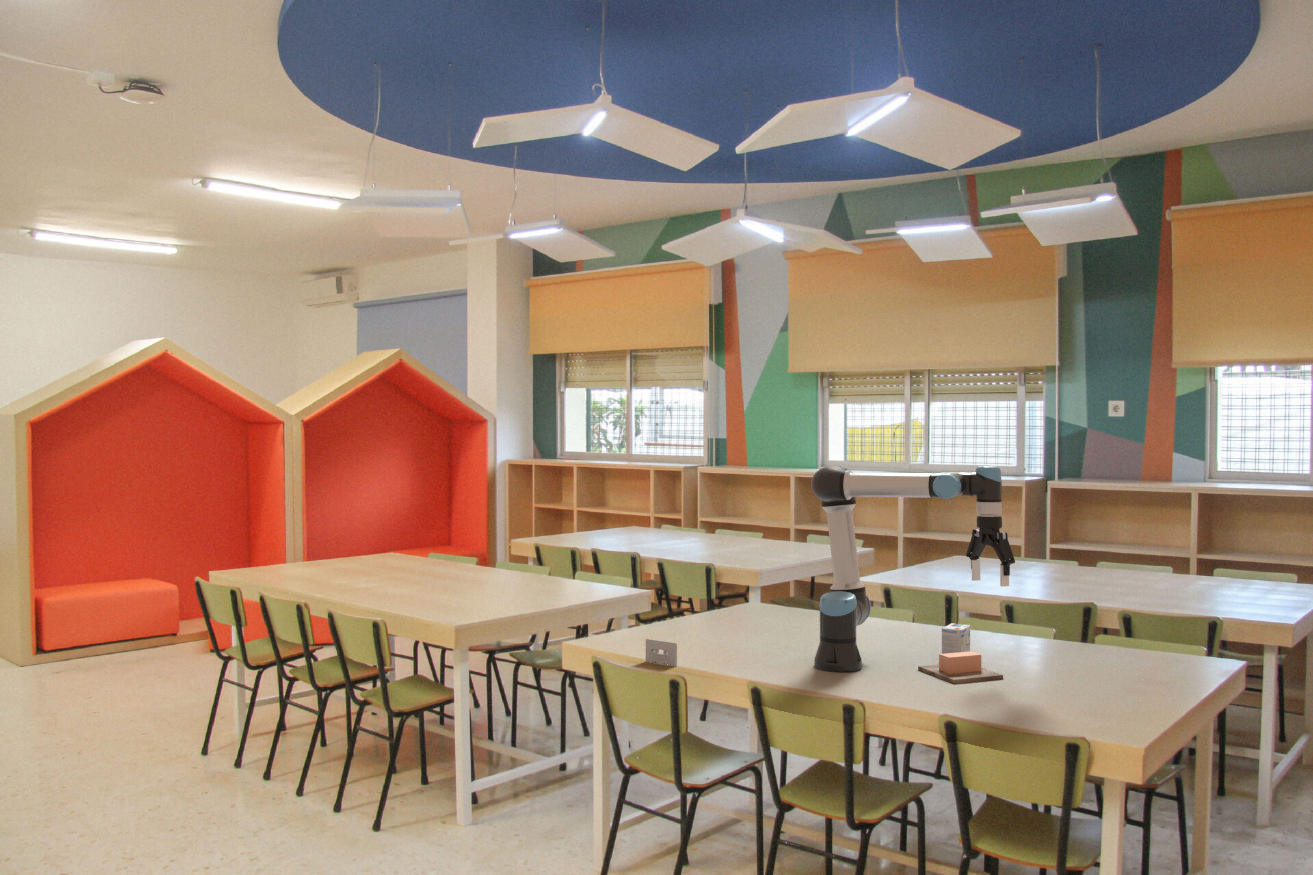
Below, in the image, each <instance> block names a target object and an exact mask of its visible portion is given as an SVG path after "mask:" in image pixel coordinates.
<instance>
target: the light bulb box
mask: <svg viewBox="0 0 1313 875" xmlns="http://www.w3.org/2000/svg"><path fill="white" fill-rule="evenodd" d="M969 651H971V625H970V624H965V623H964V624H962V623H952V622H951V623H949V624H948V625H946V626H944V627H942V628H941V654H946V653H957V652H969Z"/></svg>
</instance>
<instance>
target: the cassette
mask: <svg viewBox="0 0 1313 875" xmlns="http://www.w3.org/2000/svg"><path fill="white" fill-rule="evenodd" d="M660 650H662V651H663V652H659V651H660ZM645 662H646V663H650V664H654V665H661V666H667V667H673V666H674V668H675V666H676V667H678V643H677V642H673V641H667V640H659V639H654V638H653V639H651V638H646V639H645ZM667 664H668V665H667Z"/></svg>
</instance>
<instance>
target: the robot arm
mask: <svg viewBox="0 0 1313 875" xmlns="http://www.w3.org/2000/svg"><path fill="white" fill-rule="evenodd" d="M810 486H811V491H812V492H813V494H814V496H815V497H816V498H817V499H819V500H820V504H821V508H822V509H823V510H824V511H825V513H826V518H827V527H828V538H829V546H830V555H831V565H832V574H833V583H832V585H831V586H830V589H829V590H830V591H829V592H825V593H823V594H822V595H821V596H820V598H819V606H818V608H819V643H818V646H817V650H816V653H815V656H814V661H813V662H814V667H815V668H817V669H819V670H823V671H827V672H828V671H829V672H835V671H839V672H840V673H847V672H846V671H850V672H857V671H860V670H862V668H863V660H862V656H861V654H860V650H859V648H858V644H857V627H858V626H860V625H863V624H864V623H865V622H866V620H868V617H870V616H869V615H870V613H871V611H872V604H871V601H870V598H869V597H868V595H867V592H866V591H867V590H866V585H865V584H864V583H863V582H862V581H861V579H860V570H859V560H858V550H857V549H858V548H857V542H856V531H855V522H854V514H853V510H854V508H855V507H857V506H856V505H857V500H856V497H857V498H923V499H924V498H931V499H932V498H934V499H944V500H947V499H948V500H950V499H953V498H956V497H975V499H976V500H975V501H976V502H975V503H976V505H975V506H976V508H975V509H976V510H975V511H976V515H977V516H976V529H972V530H971V538H970V541H969V544H968V547H967V550H966V554H965V556H966V557H967V558H969V559H970V569H971V581H973V582H974V581H975V582H976V581H981V558H980V556H981V555H982V553H983V551H984V550H985V548H986V547H987V546H990V547H991V548H993V550H994V551H995V553H996V554H995V555H997V557H998V559H999V561H1000V564H999V582H1000V583H999V584H1000V585H999V586H1000V587H1010V576H1011V567H1010V566H1011V565H1013V564H1015V563H1016V560H1015V557H1014V554H1013V550H1012V548H1011V545H1010V542H1009V538H1008V532H1007V531H1005V532H1001V531H1000V529H1002V528H1003V517H1002V516H1001V515H1002V514H1003V511H1002V510H1003V509H1002V508H1003V507H1002V506H1003V505H1002V504H1003V503H1002V501H1003V496H1002V494H1003V490H1002V489H1003V480H1002V471H1001V468H1000V467H999V466H990V465H989V466H977V467H976V468H975V472H951V471H947V472H939V473H898V472H897V473H894V472H893V473H891V472H890V473H884V472H883V473H882V472H881V473H869V472H868V473H867V472H866V473H861V472H859V473H857V472H856V473H854V472H853V471H852V470H851V469H849V468H847V467H845V466H841V465H835V466H826V467H825V466H824V467H822V468H820V469H818V470H817V471H816V472H815V473H814V475H813V476H812V477H811V482H810ZM977 528H978V529H977ZM859 669H860V670H859Z"/></svg>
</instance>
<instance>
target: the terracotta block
mask: <svg viewBox="0 0 1313 875" xmlns="http://www.w3.org/2000/svg"><path fill="white" fill-rule="evenodd" d="M938 664H939V670H940V671H943V672H946V673H948V674H952V673H963V672H974V671H981V667H982V654H981V653H978V652H974V651H971V650H970V651H969V652H957V653H946V654H942V653H939V654H938Z"/></svg>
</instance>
